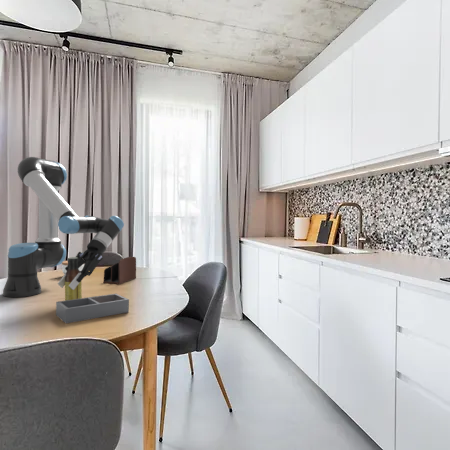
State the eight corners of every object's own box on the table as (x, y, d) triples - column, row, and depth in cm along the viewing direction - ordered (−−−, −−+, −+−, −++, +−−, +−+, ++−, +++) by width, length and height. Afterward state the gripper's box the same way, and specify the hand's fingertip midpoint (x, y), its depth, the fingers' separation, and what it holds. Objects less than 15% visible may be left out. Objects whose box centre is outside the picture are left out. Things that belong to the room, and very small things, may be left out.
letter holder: (136, 278, 196) (136, 255, 195) (119, 284, 176) (120, 259, 176) (121, 277, 198) (121, 254, 197) (103, 283, 178) (103, 258, 178)
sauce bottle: (77, 302, 137) (78, 256, 136) (84, 305, 133) (85, 257, 132) (61, 305, 132) (62, 257, 131) (68, 308, 128) (69, 259, 127)
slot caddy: (55, 315, 119) (56, 301, 119) (115, 305, 134) (116, 293, 134) (65, 323, 110) (66, 309, 110) (128, 312, 125) (128, 299, 125)
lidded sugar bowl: (63, 275, 199) (63, 257, 198) (85, 274, 202) (85, 257, 202) (59, 278, 187) (59, 260, 186) (82, 278, 190) (83, 259, 190)
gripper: (119, 251, 141) (87, 295, 127) (89, 248, 150) (56, 289, 136) (110, 239, 136) (75, 284, 122) (79, 237, 145) (44, 278, 131)
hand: (65, 286), depth 129 cm, fingers closed on sauce bottle, 6 cm apart
